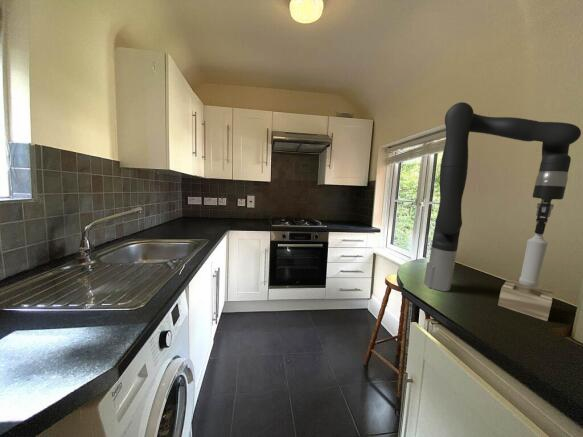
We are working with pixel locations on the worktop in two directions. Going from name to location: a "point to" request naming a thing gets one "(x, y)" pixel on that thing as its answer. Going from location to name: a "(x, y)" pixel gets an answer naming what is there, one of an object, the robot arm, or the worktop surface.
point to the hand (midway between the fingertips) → (539, 233)
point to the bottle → (533, 260)
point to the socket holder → (526, 300)
